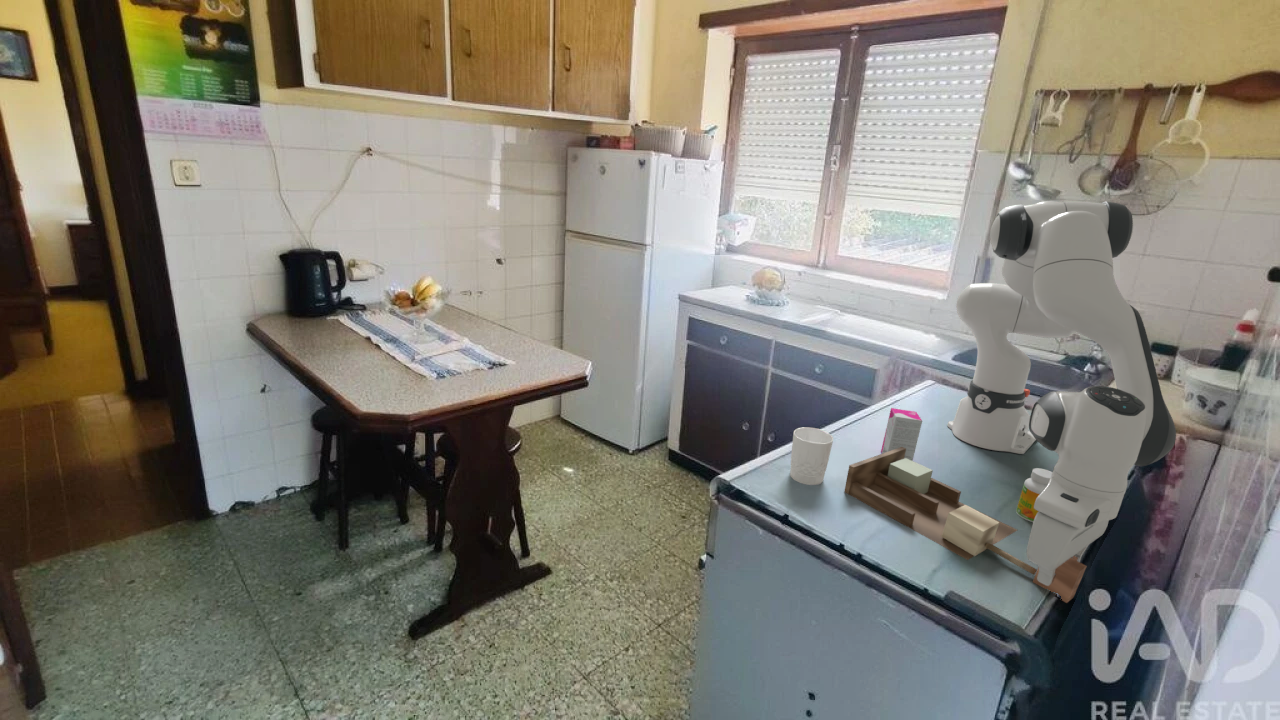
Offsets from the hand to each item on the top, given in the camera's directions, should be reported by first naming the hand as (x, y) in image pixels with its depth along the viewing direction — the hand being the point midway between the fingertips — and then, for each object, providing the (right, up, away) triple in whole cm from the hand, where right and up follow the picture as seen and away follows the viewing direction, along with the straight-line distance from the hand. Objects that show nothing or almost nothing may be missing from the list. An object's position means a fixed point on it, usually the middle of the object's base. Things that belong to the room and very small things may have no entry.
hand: (1058, 572), depth 93 cm
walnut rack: (-10, +4, +21) cm, 24 cm away
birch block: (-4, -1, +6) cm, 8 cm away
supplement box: (-7, +10, +43) cm, 44 cm away
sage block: (-11, +7, +29) cm, 32 cm away
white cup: (-31, +8, +31) cm, 45 cm away
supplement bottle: (+10, +3, +22) cm, 24 cm away
